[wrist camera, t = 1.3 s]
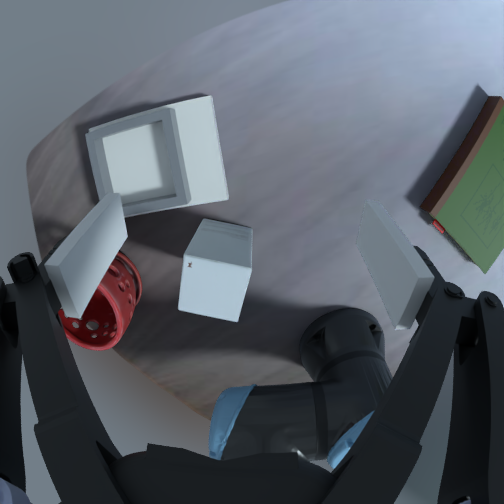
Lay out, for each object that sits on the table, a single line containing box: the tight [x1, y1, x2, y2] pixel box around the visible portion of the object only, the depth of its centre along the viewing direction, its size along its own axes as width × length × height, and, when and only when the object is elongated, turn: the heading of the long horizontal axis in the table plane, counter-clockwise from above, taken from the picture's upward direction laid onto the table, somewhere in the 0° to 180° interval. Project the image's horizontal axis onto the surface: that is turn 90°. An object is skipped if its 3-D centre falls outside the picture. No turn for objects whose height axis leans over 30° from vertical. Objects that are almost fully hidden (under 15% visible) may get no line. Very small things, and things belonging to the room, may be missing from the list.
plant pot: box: [58, 252, 142, 351], centre depth 41 cm, size 13×13×12 cm
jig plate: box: [85, 96, 229, 218], centre depth 37 cm, size 14×18×4 cm
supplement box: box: [178, 218, 252, 322], centre depth 38 cm, size 7×7×13 cm
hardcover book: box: [420, 96, 504, 274], centre depth 37 cm, size 25×19×4 cm
